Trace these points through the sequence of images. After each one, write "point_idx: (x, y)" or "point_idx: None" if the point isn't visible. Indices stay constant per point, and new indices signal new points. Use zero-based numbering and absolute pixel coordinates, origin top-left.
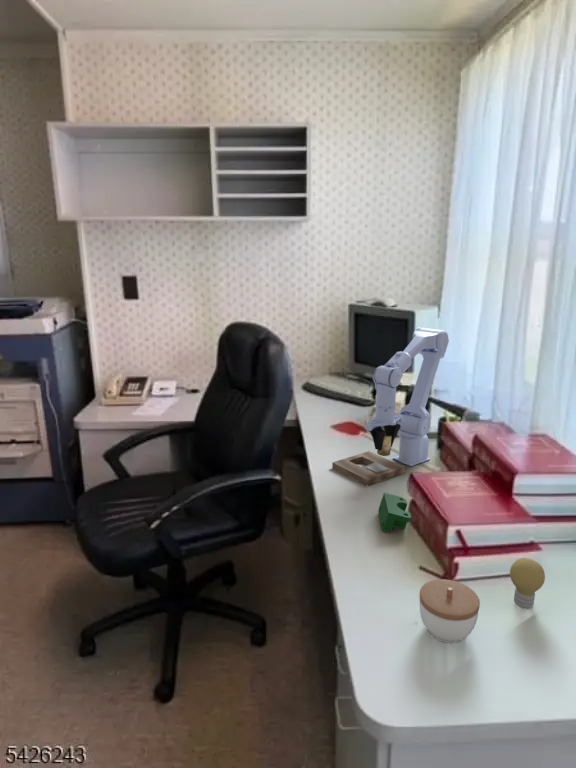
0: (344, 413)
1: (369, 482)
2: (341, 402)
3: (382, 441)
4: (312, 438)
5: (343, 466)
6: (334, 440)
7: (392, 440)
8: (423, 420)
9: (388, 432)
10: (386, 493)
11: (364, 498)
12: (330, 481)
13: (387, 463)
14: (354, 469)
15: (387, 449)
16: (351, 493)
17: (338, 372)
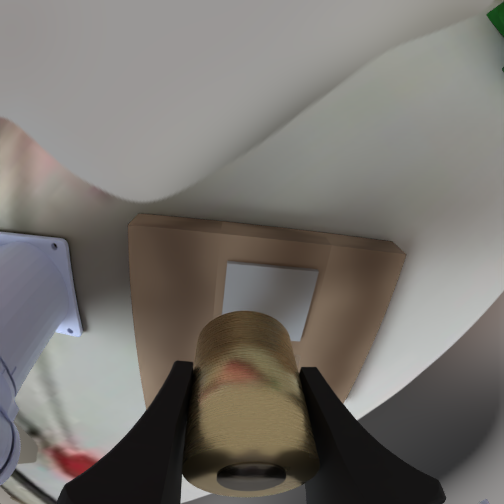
0: (59, 484)
1: (387, 245)
2: (45, 491)
3: (333, 422)
4: (202, 492)
5: (343, 387)
6: None
7: (179, 402)
8: None
9: (177, 483)
10: None
11: (474, 183)
12: (421, 343)
13: (169, 310)
14: (344, 353)
15: (267, 348)
16: (466, 242)
17: (13, 497)
